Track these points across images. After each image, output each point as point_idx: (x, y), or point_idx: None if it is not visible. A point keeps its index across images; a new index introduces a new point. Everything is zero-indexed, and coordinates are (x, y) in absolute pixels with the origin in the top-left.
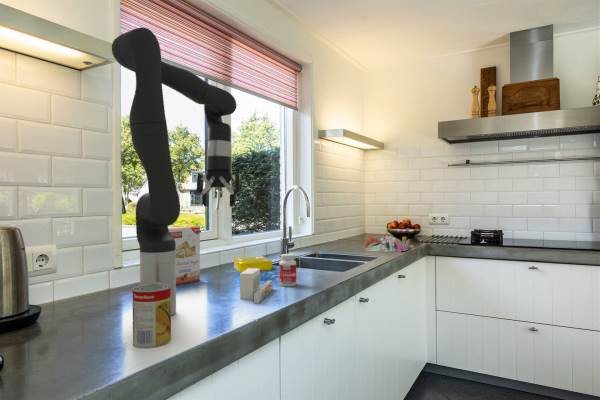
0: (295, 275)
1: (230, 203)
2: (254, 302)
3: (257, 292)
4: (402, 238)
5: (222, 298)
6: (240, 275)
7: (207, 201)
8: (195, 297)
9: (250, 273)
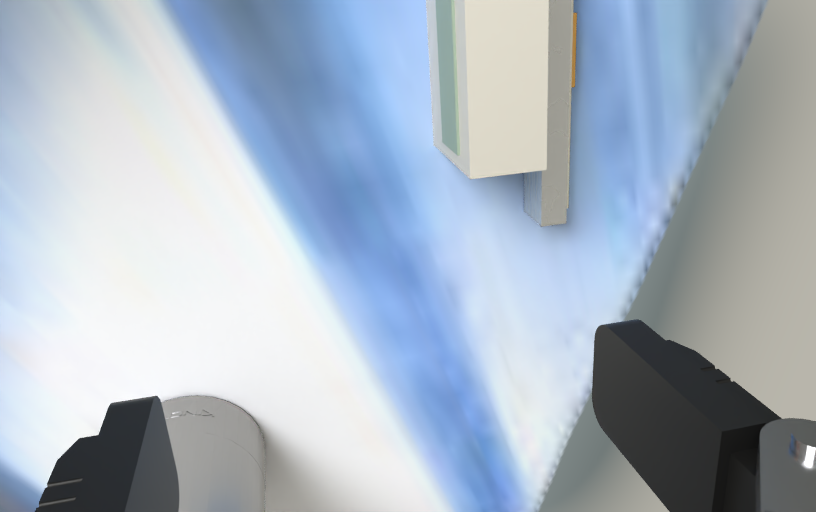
0: None
1: (628, 444)
2: (526, 212)
3: (553, 207)
4: None
5: (338, 153)
6: (469, 175)
7: (155, 491)
8: (178, 163)
9: (532, 161)
